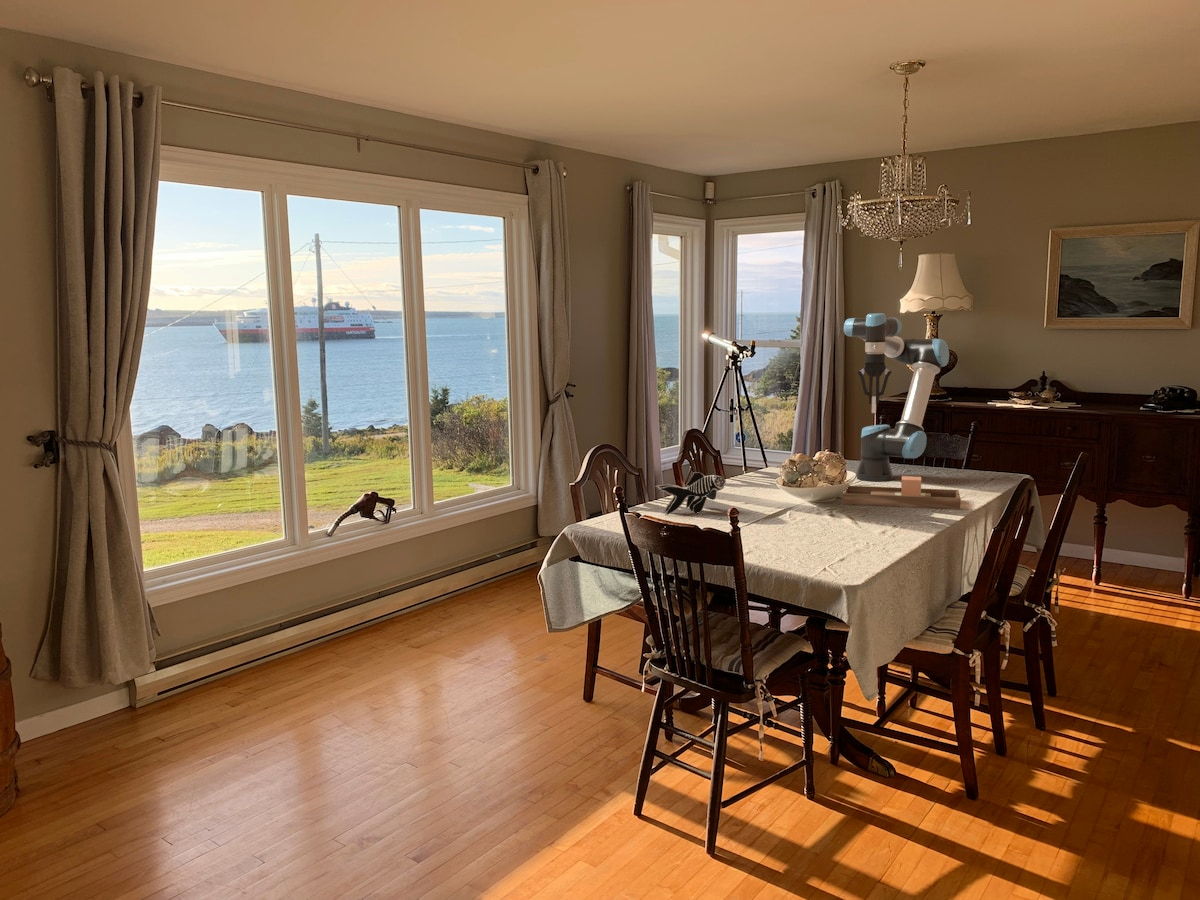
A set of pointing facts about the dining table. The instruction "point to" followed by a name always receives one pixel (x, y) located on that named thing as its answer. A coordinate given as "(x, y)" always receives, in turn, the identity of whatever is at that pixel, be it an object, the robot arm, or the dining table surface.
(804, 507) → the dining table surface
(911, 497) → the trap box
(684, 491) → the decorative fish
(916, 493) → the block
